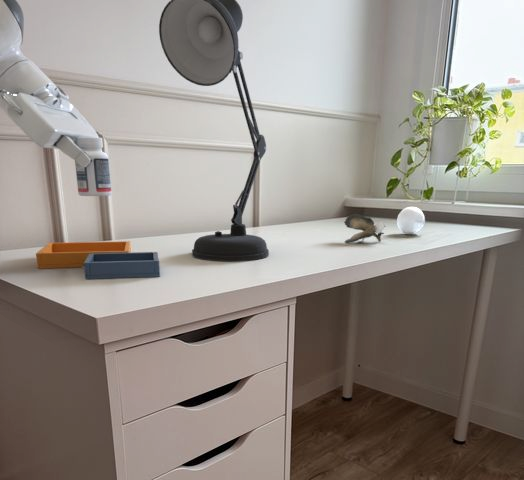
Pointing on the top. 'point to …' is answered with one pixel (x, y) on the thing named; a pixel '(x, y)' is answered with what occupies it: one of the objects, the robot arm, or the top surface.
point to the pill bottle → (93, 169)
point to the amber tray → (76, 253)
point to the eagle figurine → (364, 227)
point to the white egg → (410, 220)
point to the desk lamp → (207, 74)
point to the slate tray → (121, 265)
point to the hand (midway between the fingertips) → (95, 164)
